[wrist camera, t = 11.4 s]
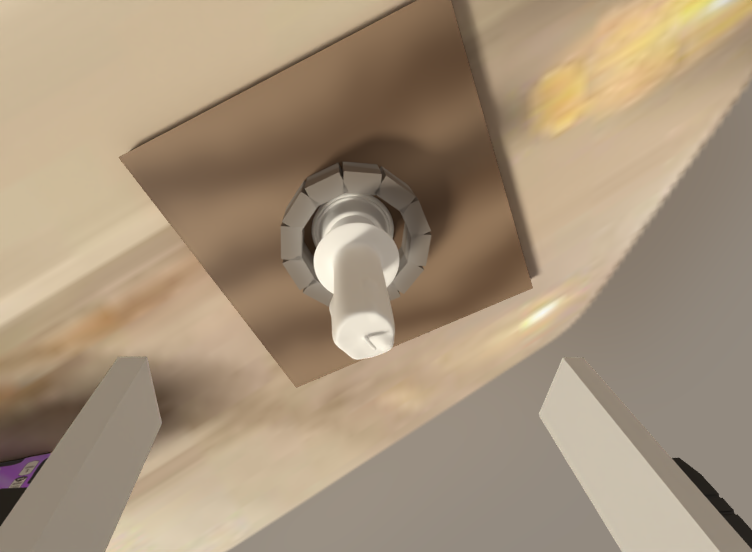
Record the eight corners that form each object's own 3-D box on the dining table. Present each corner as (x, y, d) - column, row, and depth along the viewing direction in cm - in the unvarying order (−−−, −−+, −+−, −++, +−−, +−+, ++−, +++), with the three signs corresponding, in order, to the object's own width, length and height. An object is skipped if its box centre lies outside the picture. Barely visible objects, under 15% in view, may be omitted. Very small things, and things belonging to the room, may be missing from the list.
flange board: (126, 153, 23) (94, 167, 20) (441, -12, 21) (461, -26, 18) (297, 378, 32) (293, 411, 29) (526, 281, 30) (549, 305, 27)
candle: (408, 214, 25) (461, 319, 15) (368, 278, 27) (389, 411, 17) (335, 175, 24) (336, 261, 13) (298, 246, 26) (272, 371, 15)
